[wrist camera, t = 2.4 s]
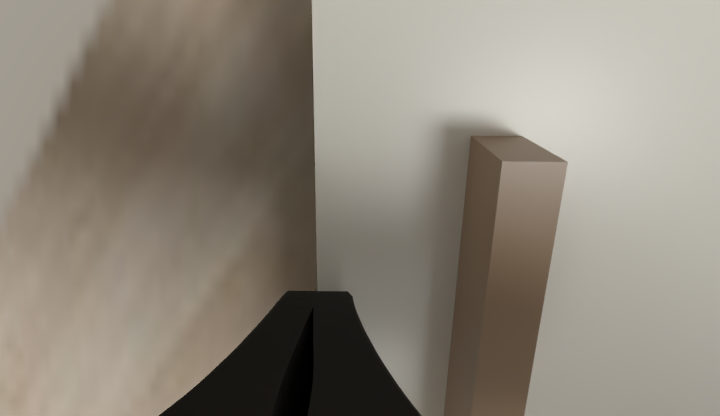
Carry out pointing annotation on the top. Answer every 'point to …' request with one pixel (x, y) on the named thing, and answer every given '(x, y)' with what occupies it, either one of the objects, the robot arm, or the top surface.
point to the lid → (525, 199)
